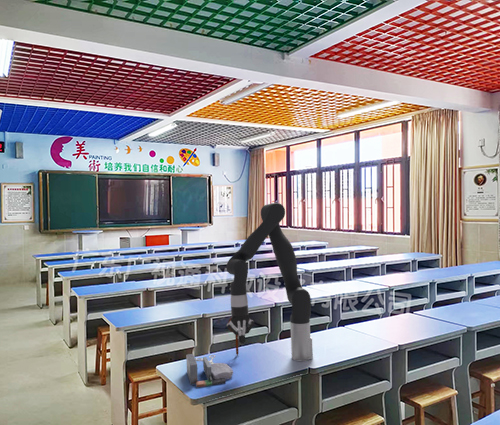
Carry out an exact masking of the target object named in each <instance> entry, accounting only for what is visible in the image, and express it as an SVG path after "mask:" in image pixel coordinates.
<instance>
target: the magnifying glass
mask: <svg viewBox="0 0 500 425" xmlns="http://www.w3.org/2000/svg"><path fill="white" fill-rule="evenodd" d="M231 318H232V316H231V317H230V318H229V320H228V322H227V323H229V322H230V321H231ZM232 325H233V327H232V328H233V329H234V330H235V331H237V328H236V327H235V326H234V324H233V323H232ZM228 330H229V331H230V332H231V333H233V332H232V331H231V330H230V329H229V328H228ZM234 335H235V334H234ZM235 355H236V356H237V357H238V356H239V341H238V335H235Z"/></svg>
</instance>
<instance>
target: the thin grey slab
mask: <svg viewBox="0 0 500 425" xmlns="http://www.w3.org/2000/svg"><path fill="white" fill-rule="evenodd" d="M202 358H203V361H202V362H203V363H202V364H203V372H204V374H205V377H206V380H211V381H212V380H213V379H212V376H211V366H210V363H209V361H210V360H209V359H208V358H207V356H205V357H204V356H203V357H202Z"/></svg>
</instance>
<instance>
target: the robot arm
mask: <svg viewBox="0 0 500 425" xmlns="http://www.w3.org/2000/svg"><path fill="white" fill-rule="evenodd" d="M285 215H286V209H285V207H284V205H283V204H282V203H280V202H272V203H267V204H265V205H263V206H262V207H261V209H260V217H261V221H262V222H261V223H260V225H259V226H258V227H256V229H254V230H253V232H252V233H250V234H249V236H248V237H246V239H245V240H244V242H243V243H242V245H240V246H241V247H240V248H239V249H238V250H237V251H236V252H235V253H234V254H233V255H232V256H231V257H230V258H229V260H228V261H227V263H226V266H225V267H226V271H227V273H228V274H229V275H232V276H233V280H232V281H231V282H230V287H229V288H230V311H231V314H230V315H231V317H232V318H231V317H230V318H231V321H230V322H229V321H228V322H229V323H228V322H227V323H226V327H227V328H228V330H229V329H230V330H231V331H232V332H231V331H230V330H229V331H230V332H231V333H233V334H234V335H238V344H240V345H243V344H245V343H246V335H247V334H249V333H250V331H251V330H252V328H253V326H254V325H255V323H256V322H255V321H254V320H253V319H251V317H250V314H249V300H248V296H247V295H248V294H247V280H248V274H249V268H248V266H249V265H248V264H247V261H249V260H252V259H253V258H254V256H255V254H256V253H257V252H258V250H259V249H260V247H261V246H262V245H263V243H264V241H265V240H266V239H267V237H268V238H269V241H270V243H271V247H272V250H273V253H274V256H275V260H276V264H277V266H278V268H279V271H280V274H281V277H282V279H283V282H284V287H285V292H286V297H287V300H288V302H289V303H290V305H291V314H290V316H289V320H290V323H289V324H290V346H291V359H292V360H293V361H298V362H305V361H309V360H312V359H314V356H313V352H314V350H313V338H312V336H311V319H310V318H311V315H312V305H311V304H312V299H311V294H310V292H308V290H306V289H305V288H303V286H302V284H301V282H300V279H299V276H298V275H299V274H298V265H297V264H298V263H297V257H296V254H295V250H294V247H293V245H292V243H291V242H290V240H289V239H288V238H287V237H286V235H285V234H284V231H282V228H281V226H280V223H281V221H282V220H283V219H284V217H285ZM232 323H233V324H234V326H235V327H236V328H237V331H235V330H234V329H233V328H232V327H233V325H232ZM246 326H247V327H246Z"/></svg>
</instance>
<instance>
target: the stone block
mask: <svg viewBox="0 0 500 425" xmlns="http://www.w3.org/2000/svg"><path fill="white" fill-rule="evenodd" d="M213 363H214V364H210V366H211V376H212V380H214V379H221V378H224V379H225V380H230V379H232V377H233V374H234V371H233V370H234V369H233V368H231V366H229V365H228V364H227V363H224V362H213Z"/></svg>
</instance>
